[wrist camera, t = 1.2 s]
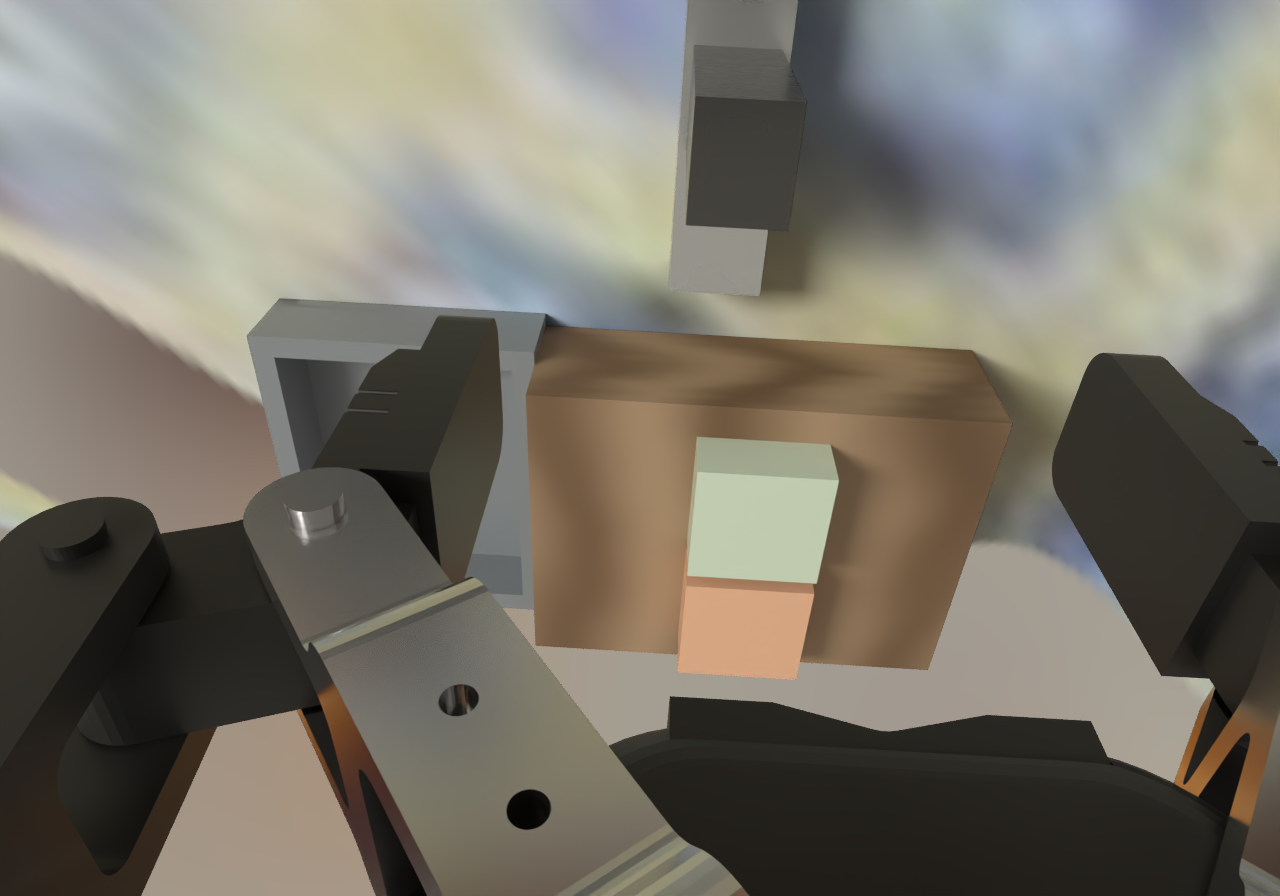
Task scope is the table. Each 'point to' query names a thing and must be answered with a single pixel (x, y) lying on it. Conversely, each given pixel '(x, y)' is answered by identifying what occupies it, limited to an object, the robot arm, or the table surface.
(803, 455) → the sage tile
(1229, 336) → the table surface
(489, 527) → the tray
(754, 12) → the scraper
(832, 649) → the walnut block
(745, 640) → the peach flat block
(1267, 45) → the table surface
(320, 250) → the table surface
